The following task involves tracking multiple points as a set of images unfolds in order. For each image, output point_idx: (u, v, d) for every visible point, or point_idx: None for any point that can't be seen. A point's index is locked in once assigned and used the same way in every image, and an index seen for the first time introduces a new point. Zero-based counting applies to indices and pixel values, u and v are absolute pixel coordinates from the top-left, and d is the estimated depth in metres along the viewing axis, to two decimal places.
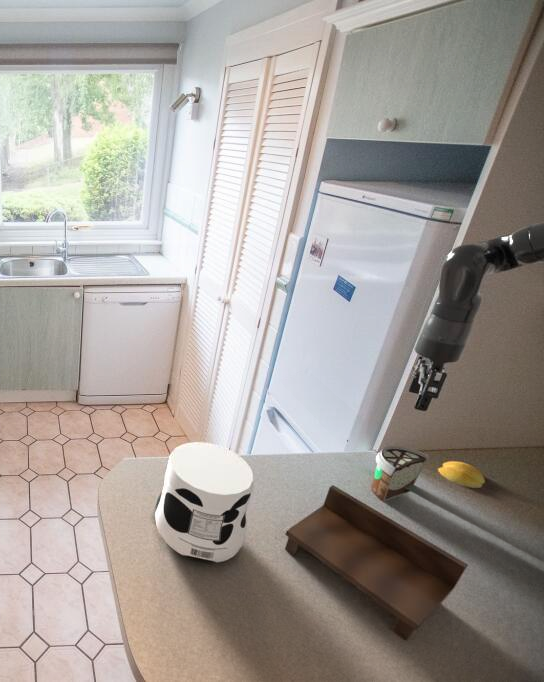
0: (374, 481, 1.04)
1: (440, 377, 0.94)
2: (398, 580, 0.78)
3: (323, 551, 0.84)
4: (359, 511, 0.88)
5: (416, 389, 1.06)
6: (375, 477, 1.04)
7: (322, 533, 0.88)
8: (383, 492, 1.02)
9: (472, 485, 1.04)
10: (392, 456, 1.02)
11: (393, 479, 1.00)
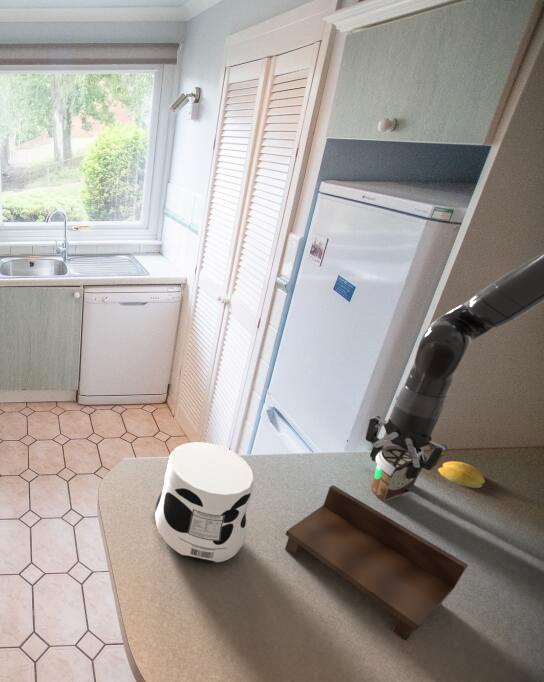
0: (374, 481, 1.04)
1: None
2: (398, 580, 0.78)
3: (323, 551, 0.84)
4: (359, 511, 0.88)
5: None
6: (375, 477, 1.04)
7: (322, 533, 0.88)
8: (383, 492, 1.02)
9: (472, 485, 1.04)
10: (392, 456, 1.02)
11: (393, 479, 1.00)
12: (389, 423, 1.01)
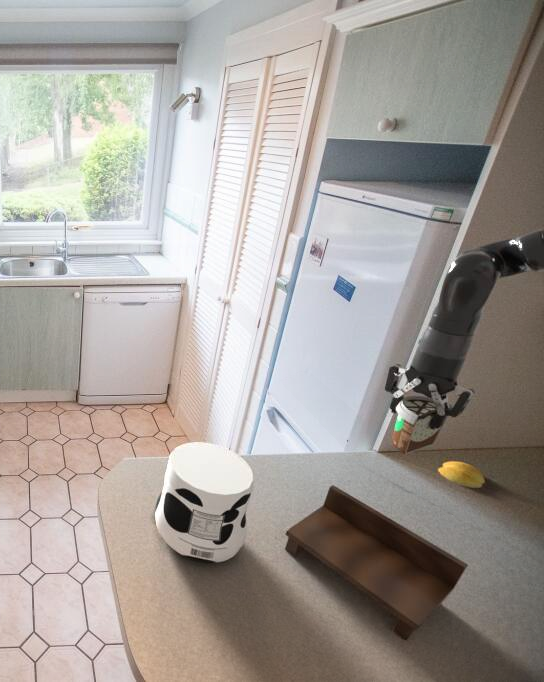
0: (394, 434, 0.98)
1: None
2: (398, 580, 0.78)
3: (323, 551, 0.84)
4: (359, 511, 0.88)
5: None
6: (395, 429, 0.97)
7: (322, 533, 0.88)
8: (404, 443, 0.95)
9: (472, 485, 1.04)
10: (414, 406, 0.96)
11: (416, 429, 0.93)
12: (411, 370, 0.95)
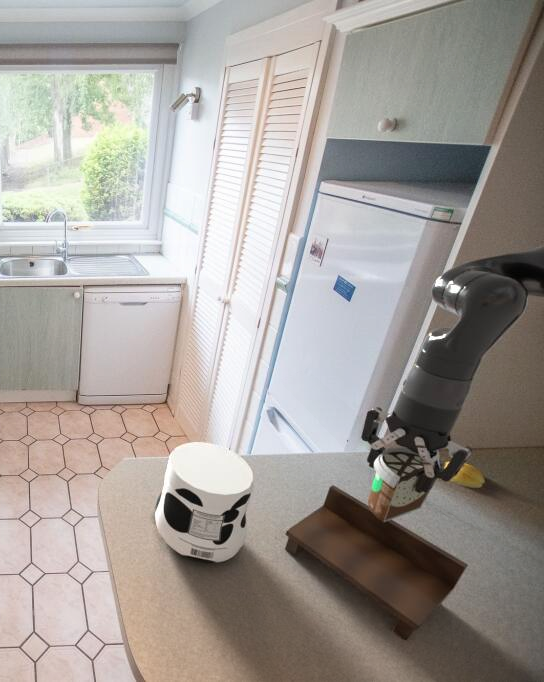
0: (372, 494, 0.78)
1: None
2: (398, 580, 0.78)
3: (323, 551, 0.84)
4: (359, 511, 0.88)
5: None
6: (373, 489, 0.78)
7: (322, 533, 0.88)
8: (383, 509, 0.75)
9: (472, 485, 1.04)
10: (396, 461, 0.76)
11: (397, 492, 0.73)
12: (393, 417, 0.75)
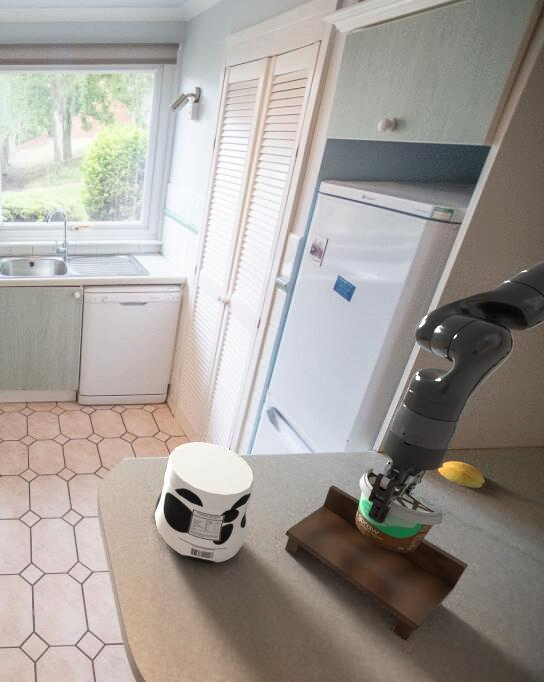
0: (398, 540, 0.77)
1: None
2: (398, 580, 0.78)
3: (323, 551, 0.84)
4: None
5: None
6: (400, 536, 0.76)
7: (322, 533, 0.88)
8: (417, 542, 0.77)
9: (472, 485, 1.04)
10: (396, 500, 0.76)
11: None
12: (406, 472, 0.72)
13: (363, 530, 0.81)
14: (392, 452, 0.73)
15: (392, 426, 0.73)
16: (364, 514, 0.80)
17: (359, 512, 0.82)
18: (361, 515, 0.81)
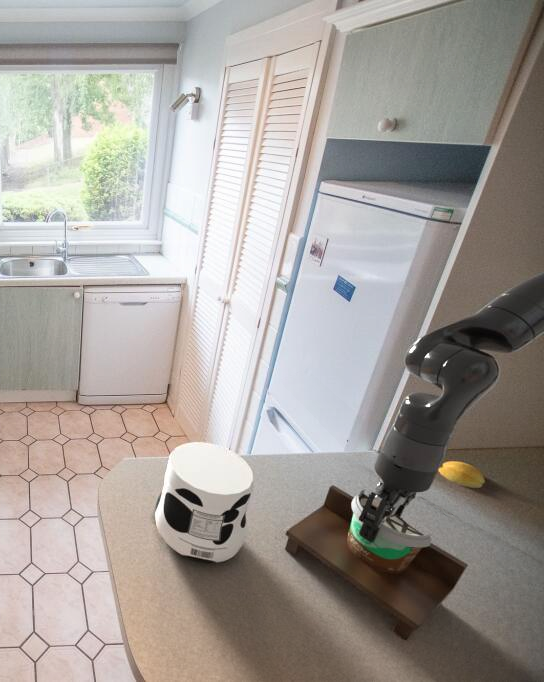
0: (388, 562, 0.79)
1: None
2: (398, 580, 0.78)
3: (323, 551, 0.84)
4: None
5: None
6: (390, 557, 0.78)
7: (322, 533, 0.88)
8: (407, 563, 0.79)
9: (472, 485, 1.04)
10: (386, 522, 0.78)
11: None
12: (397, 493, 0.73)
13: (354, 550, 0.83)
14: (383, 474, 0.74)
15: (383, 448, 0.75)
16: (355, 535, 0.83)
17: (351, 533, 0.84)
18: (352, 536, 0.84)
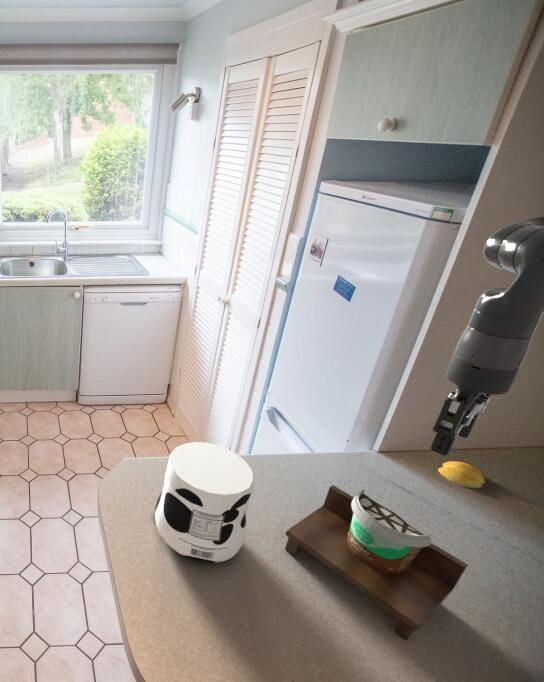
0: (388, 562, 0.79)
1: None
2: (398, 580, 0.78)
3: (323, 551, 0.84)
4: None
5: None
6: (390, 557, 0.78)
7: (322, 533, 0.88)
8: (407, 563, 0.79)
9: (472, 485, 1.04)
10: (386, 522, 0.78)
11: None
12: (474, 398, 0.69)
13: (354, 550, 0.83)
14: (458, 379, 0.70)
15: (457, 352, 0.71)
16: (355, 535, 0.83)
17: (351, 532, 0.84)
18: (352, 536, 0.84)
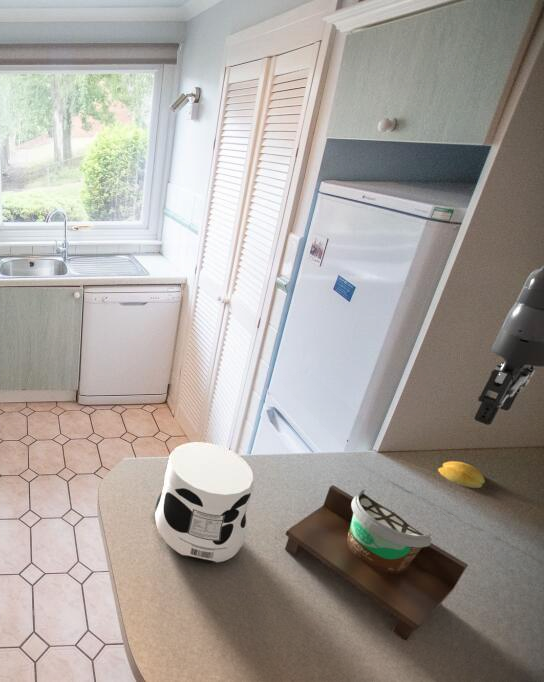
0: (388, 562, 0.79)
1: None
2: (398, 580, 0.78)
3: (323, 551, 0.84)
4: None
5: None
6: (390, 557, 0.78)
7: (322, 533, 0.88)
8: (407, 563, 0.79)
9: (472, 485, 1.04)
10: (386, 522, 0.78)
11: None
12: (520, 369, 0.74)
13: (354, 550, 0.83)
14: (505, 352, 0.75)
15: (505, 327, 0.75)
16: (355, 535, 0.83)
17: (351, 532, 0.84)
18: (352, 536, 0.84)
